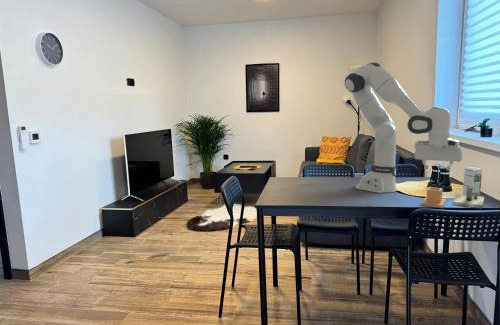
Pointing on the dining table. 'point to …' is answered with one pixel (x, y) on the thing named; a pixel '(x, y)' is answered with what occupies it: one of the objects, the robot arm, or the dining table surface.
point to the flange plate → (434, 198)
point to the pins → (470, 194)
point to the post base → (462, 201)
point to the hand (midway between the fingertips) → (436, 169)
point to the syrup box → (472, 180)
